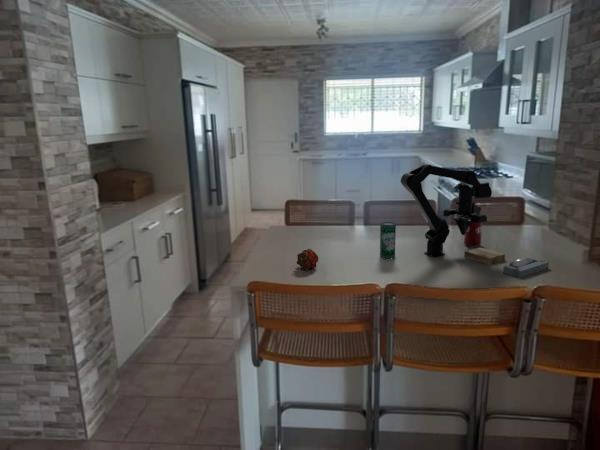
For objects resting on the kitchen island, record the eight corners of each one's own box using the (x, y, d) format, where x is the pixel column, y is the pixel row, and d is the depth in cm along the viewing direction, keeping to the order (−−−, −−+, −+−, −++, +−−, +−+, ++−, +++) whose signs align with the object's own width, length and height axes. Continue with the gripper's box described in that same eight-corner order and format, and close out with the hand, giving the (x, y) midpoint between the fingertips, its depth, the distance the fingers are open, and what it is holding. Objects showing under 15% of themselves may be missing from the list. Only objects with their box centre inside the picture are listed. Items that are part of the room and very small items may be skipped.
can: (384, 260, 188) (384, 225, 185) (377, 256, 194) (378, 222, 191) (397, 258, 190) (398, 224, 186) (390, 254, 196) (391, 221, 192)
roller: (515, 273, 170) (521, 266, 168) (507, 266, 173) (512, 259, 171) (529, 269, 175) (535, 261, 173) (521, 262, 177) (526, 255, 175)
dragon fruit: (303, 277, 176) (307, 271, 188) (321, 264, 174) (324, 259, 186) (291, 259, 176) (296, 254, 188) (308, 247, 174) (312, 243, 186)
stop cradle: (520, 277, 164) (520, 271, 163) (503, 272, 170) (503, 266, 169) (548, 268, 173) (548, 262, 172) (530, 263, 179) (531, 257, 178)
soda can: (462, 246, 205) (464, 220, 202) (465, 242, 211) (466, 217, 209) (479, 247, 202) (481, 221, 199) (481, 243, 208) (483, 218, 205)
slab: (488, 265, 179) (488, 258, 179) (464, 258, 190) (464, 251, 189) (504, 261, 184) (505, 254, 184) (480, 254, 194) (480, 247, 194)
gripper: (496, 200, 187) (493, 236, 190) (460, 194, 202) (458, 228, 206) (479, 203, 181) (476, 240, 185) (443, 197, 197) (441, 231, 200)
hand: (463, 234), depth 194 cm, fingers closed
